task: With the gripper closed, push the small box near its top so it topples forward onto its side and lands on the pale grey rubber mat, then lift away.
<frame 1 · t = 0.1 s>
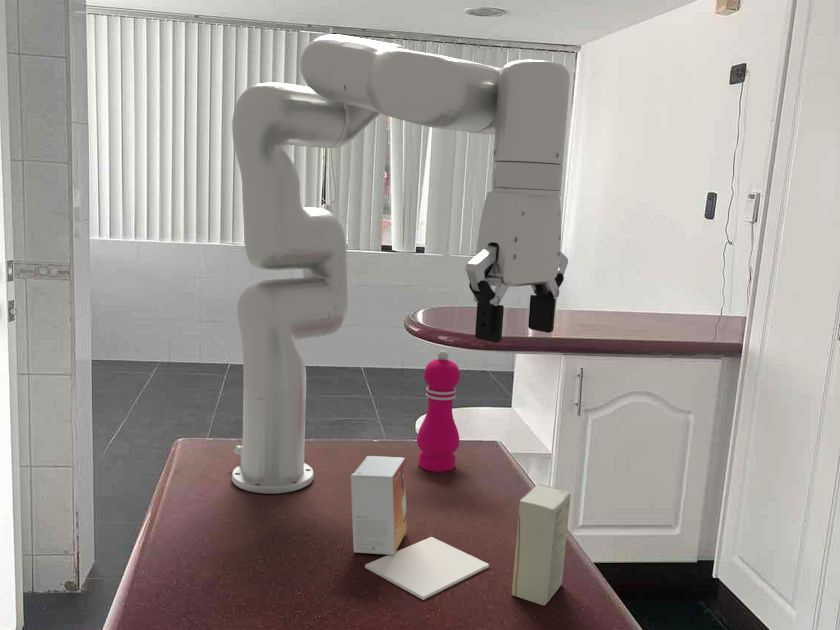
hand: (515, 335, 89), 31 cm above the kitchen counter, tool pointing down, fingers open, 9 cm apart
pepper mill: (436, 466, 134), on the kitchen counter
mat: (427, 567, 99), on the kitchen counter
skincare box: (537, 592, 95), on the kitchen counter
small box: (381, 543, 105), on the kitchen counter, touching mat
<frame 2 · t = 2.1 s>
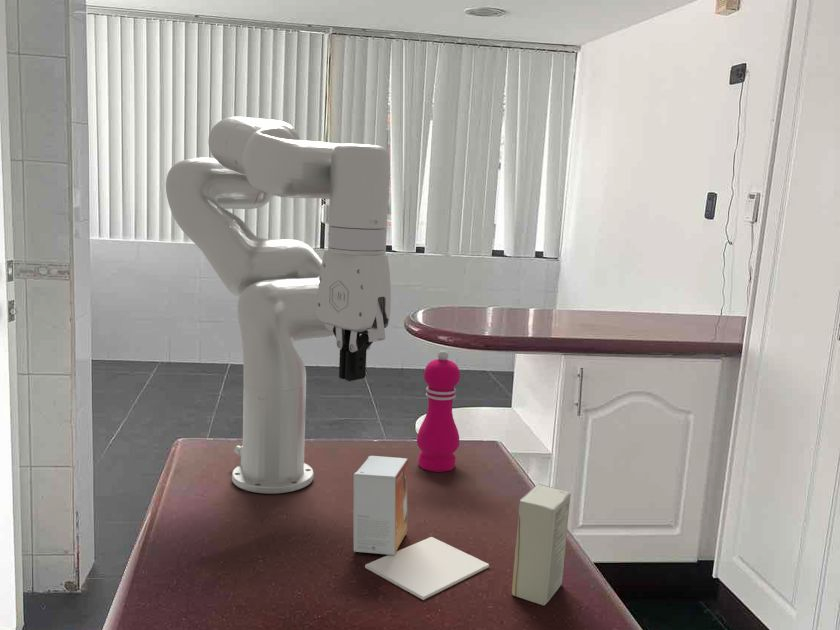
hand: (352, 377, 106), 21 cm above the kitchen counter, tool pointing down, fingers closed
nothing on the kitchen counter moved.
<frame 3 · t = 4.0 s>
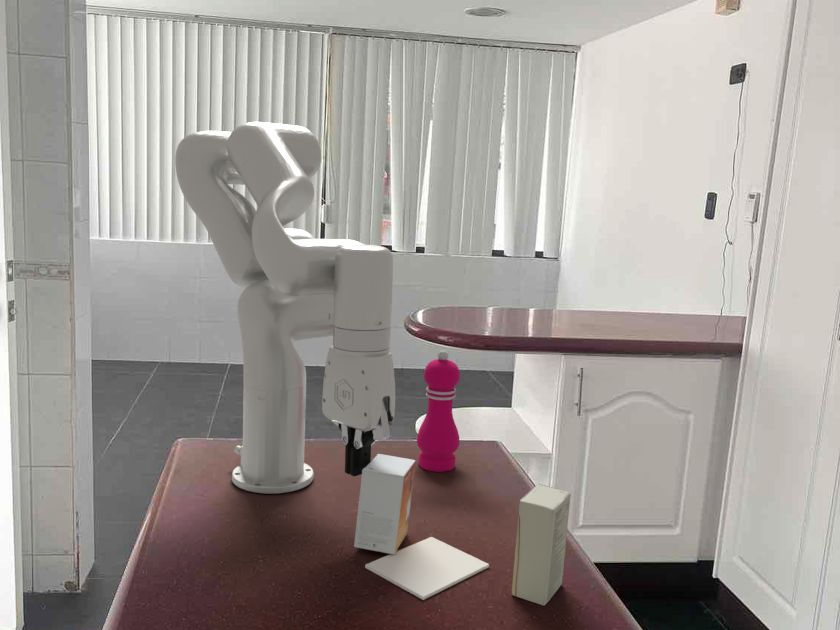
hand: (357, 472, 107), 8 cm above the kitchen counter, tool pointing down, fingers closed
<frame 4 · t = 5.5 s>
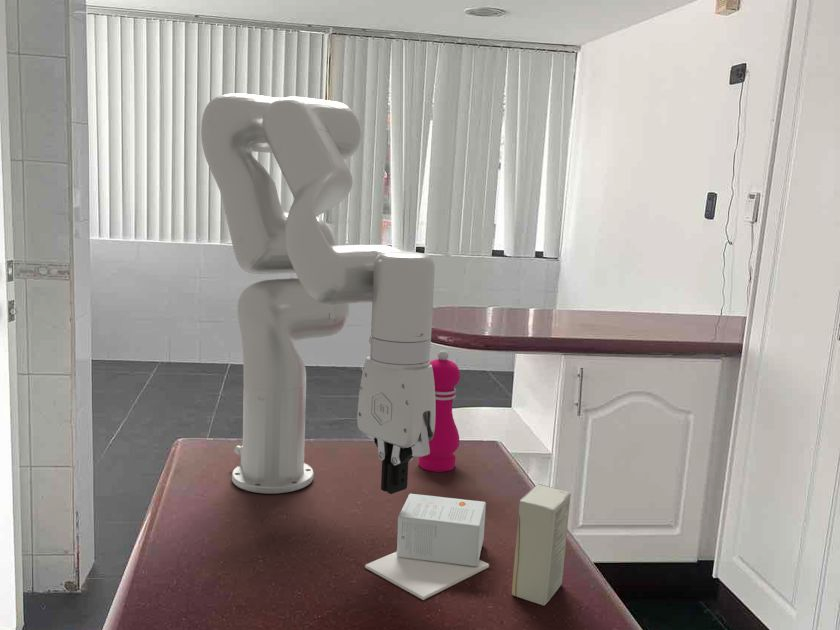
hand: (394, 489, 102), 8 cm above the kitchen counter, tool pointing down, fingers closed
small box: (401, 523, 104), point 3 cm above the kitchen counter, touching mat
everything else where it was.
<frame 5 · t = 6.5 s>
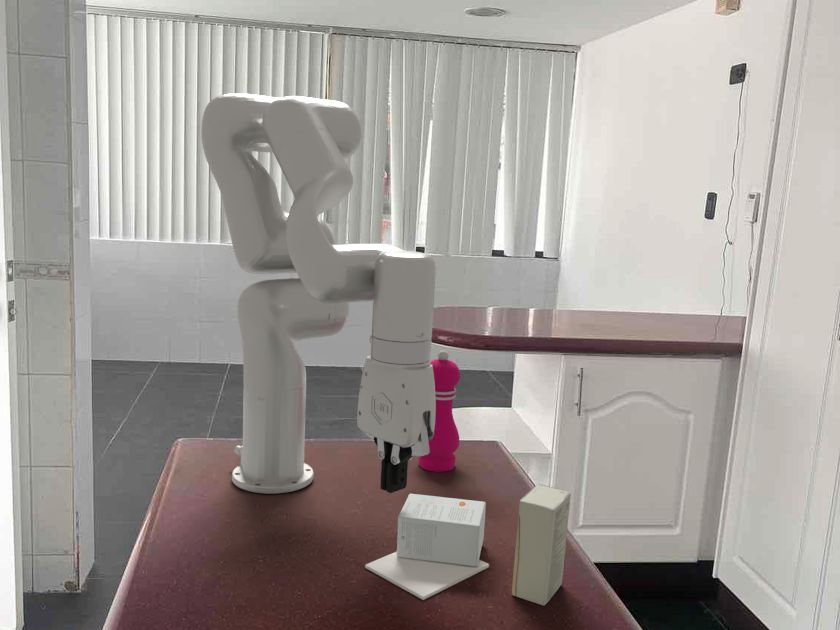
hand: (393, 488, 102), 8 cm above the kitchen counter, tool pointing down, fingers closed
nothing on the kitchen counter moved.
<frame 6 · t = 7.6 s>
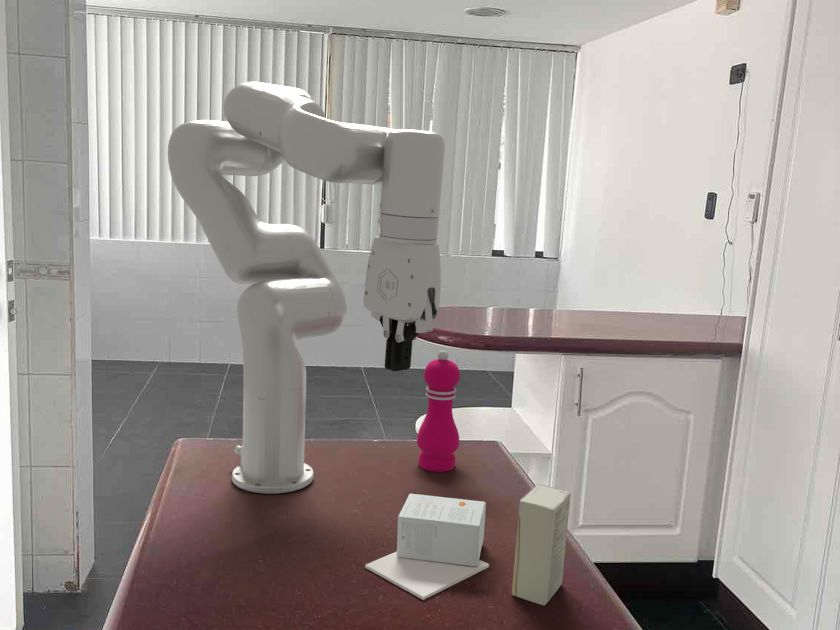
hand: (397, 368, 104), 23 cm above the kitchen counter, tool pointing down, fingers closed
nothing on the kitchen counter moved.
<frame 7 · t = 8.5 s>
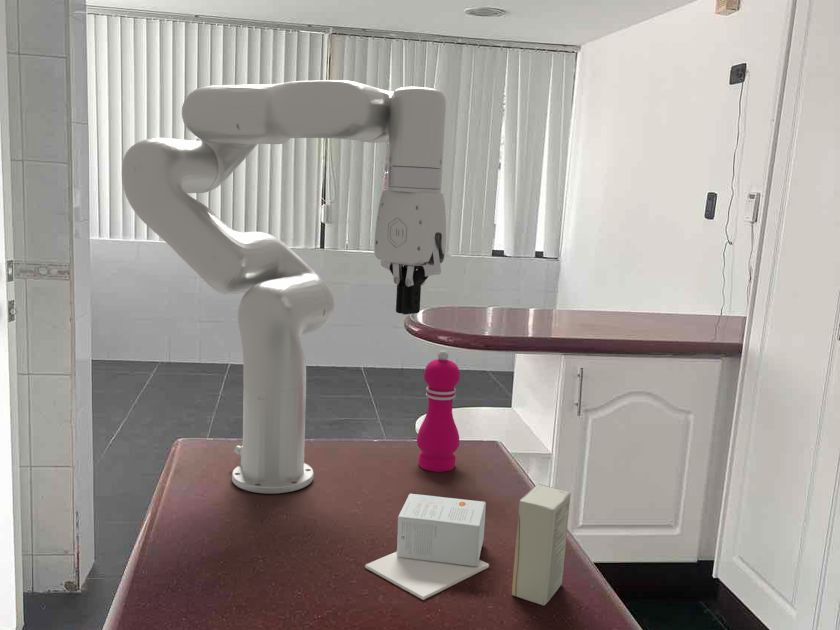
hand: (407, 312, 112), 29 cm above the kitchen counter, tool pointing down, fingers closed
nothing on the kitchen counter moved.
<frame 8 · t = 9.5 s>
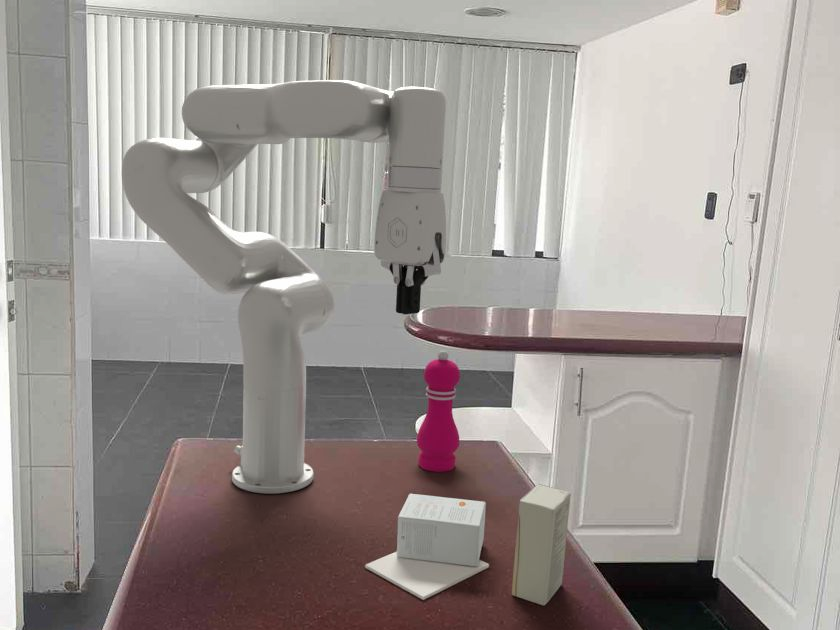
hand: (407, 312, 112), 29 cm above the kitchen counter, tool pointing down, fingers closed
nothing on the kitchen counter moved.
at the end: small box tilted 90°; small box touching mat; small box inside the target area (1.9 cm from its centre), point 3.2 cm above the kitchen counter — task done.
